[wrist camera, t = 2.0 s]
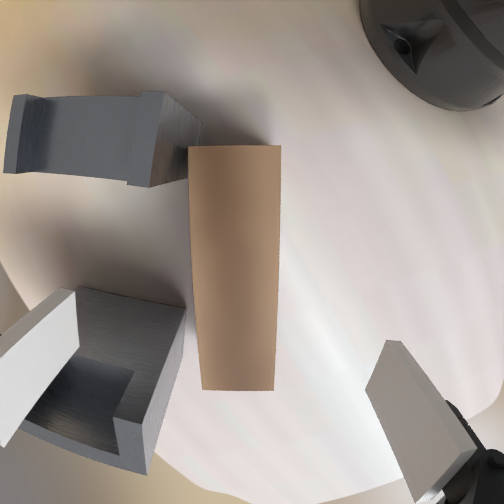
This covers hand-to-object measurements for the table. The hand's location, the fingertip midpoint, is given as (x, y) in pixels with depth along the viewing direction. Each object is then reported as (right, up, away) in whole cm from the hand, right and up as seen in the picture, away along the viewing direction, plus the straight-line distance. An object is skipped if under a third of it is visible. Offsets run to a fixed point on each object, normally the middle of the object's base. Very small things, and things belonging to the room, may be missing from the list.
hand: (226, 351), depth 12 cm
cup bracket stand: (-8, +5, +12) cm, 15 cm away
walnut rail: (0, +4, +12) cm, 13 cm away
